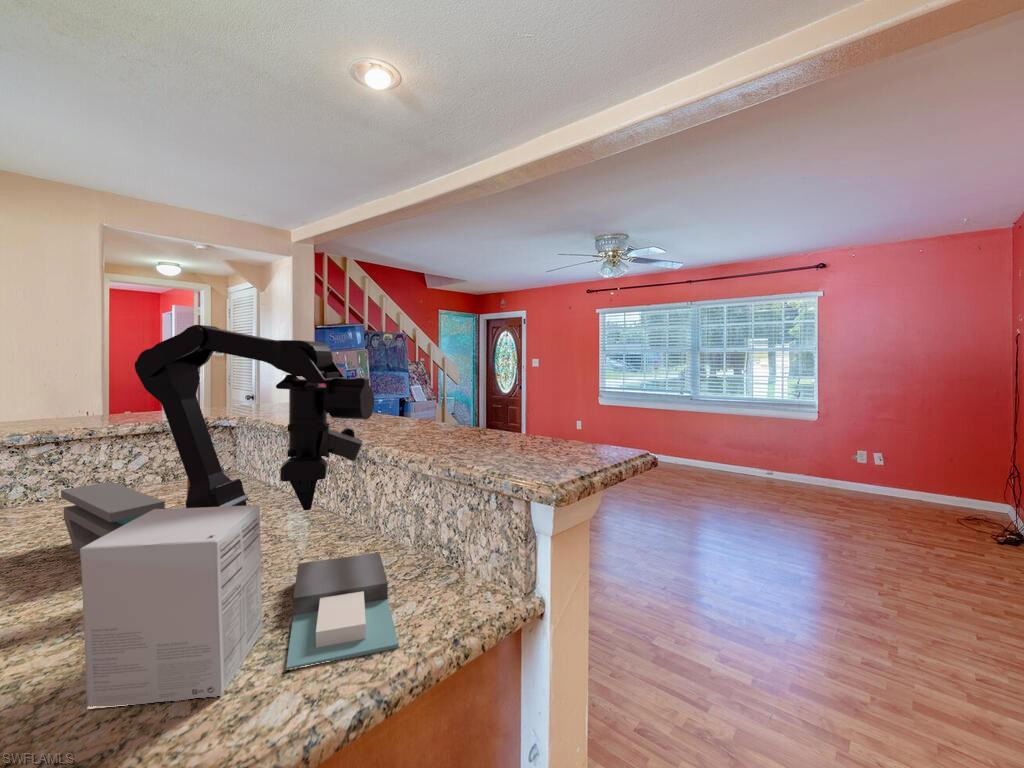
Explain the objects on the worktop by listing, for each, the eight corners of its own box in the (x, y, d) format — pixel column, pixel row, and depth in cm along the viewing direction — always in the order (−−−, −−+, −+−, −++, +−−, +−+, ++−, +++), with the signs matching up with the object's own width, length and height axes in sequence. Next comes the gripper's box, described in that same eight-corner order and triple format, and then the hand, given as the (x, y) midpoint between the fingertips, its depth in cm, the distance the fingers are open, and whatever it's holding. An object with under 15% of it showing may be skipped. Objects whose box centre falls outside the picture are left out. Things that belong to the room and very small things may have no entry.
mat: (286, 671, 55) (286, 667, 55) (293, 618, 66) (293, 615, 66) (398, 647, 60) (398, 643, 60) (387, 602, 71) (387, 598, 71)
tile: (316, 647, 59) (315, 632, 59) (320, 611, 67) (320, 597, 67) (365, 638, 61) (365, 623, 61) (363, 604, 69) (363, 591, 69)
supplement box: (265, 629, 64) (262, 503, 63) (221, 699, 51) (217, 540, 50) (157, 638, 61) (152, 507, 61) (82, 713, 48) (75, 548, 48)
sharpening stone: (166, 560, 85) (164, 501, 85) (112, 576, 79) (110, 513, 78) (113, 532, 99) (111, 481, 98) (63, 544, 92) (60, 489, 91)
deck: (293, 618, 66) (293, 598, 66) (298, 581, 77) (298, 563, 77) (387, 602, 71) (387, 582, 71) (379, 568, 82) (379, 552, 82)
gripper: (361, 424, 71) (359, 524, 72) (358, 410, 89) (356, 491, 90) (280, 425, 68) (279, 531, 68) (293, 410, 85) (293, 495, 86)
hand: (307, 509), depth 78 cm, fingers closed
